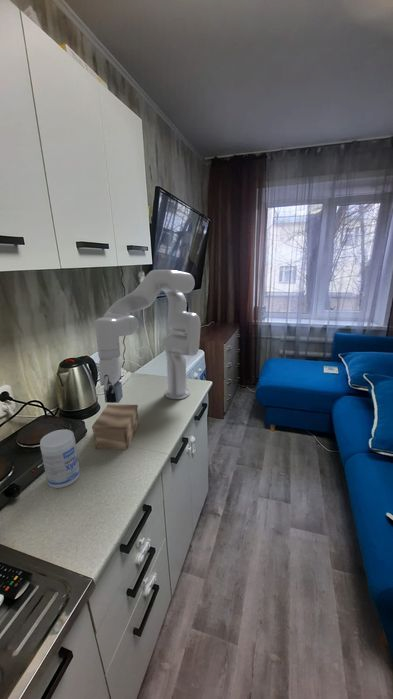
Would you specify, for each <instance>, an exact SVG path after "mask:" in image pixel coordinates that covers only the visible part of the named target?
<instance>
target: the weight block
mask: <svg viewBox="0 0 393 699" xmlns="http://www.w3.org/2000/svg"><path fill="white" fill-rule="evenodd" d="M109 384H111V383H109ZM122 386H123V384H122V381H120V382H116V383H115V384H114V392H115V397H116V402H115V404H116V403H118V404H119V403H120V402H121V400H122V398H123V387H122ZM108 387H109V388H111V386H108ZM103 394H104V403H107V398H106V393H105V390H104V389H103Z"/></svg>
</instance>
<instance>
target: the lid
mask: <svg viewBox="0 0 393 699" xmlns="http://www.w3.org/2000/svg"><path fill="white" fill-rule="evenodd" d="M138 407H139V406H138V404H121V403H120V404H119V403H118V404H116V403H115V404H114V403H108V404H107V405H106V406H105V408H104V409H103V410H102V412H101V413H100V414H99V416H98V417H97V419H96V420H95V422H93V424H92V426H91V429H92V430H93V429H121V430H126V429H127V427H128V425H129V423H130V421H131V419H132V417H133V415H134V414H135V412H136V410H137V411H138Z"/></svg>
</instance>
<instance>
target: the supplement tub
mask: <svg viewBox="0 0 393 699" xmlns="http://www.w3.org/2000/svg"><path fill="white" fill-rule="evenodd" d="M74 434H75V433H74V432H73V430H70V429H58V430H53V431H51V432H49V433H47V434H45V435H43V437H42V438H41V439H40V441H39V444H40V445H39V448H40V451H41V452H40V453H41V458H42V463H43V469H44V472H45V473H44V474H45V476H46V481H47V484H48V485H49V487H51V488H55V489H59V488H60V489H61V488H64V487H68V486H70V485H72V484H73V483H75V482H76V481H77V480H78V479H79V477H80V474H81V470H80V469H81V468H80V463H79V457H78V456H79V455H78V449H77V443H76V438H75V435H74Z"/></svg>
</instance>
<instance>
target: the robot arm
mask: <svg viewBox="0 0 393 699" xmlns="http://www.w3.org/2000/svg"><path fill="white" fill-rule="evenodd" d="M195 282H196V281H195V278H194V276H193V275H192V274H191V273H189V272H184V271H180V270H174V269H153V270H150V271H149V272H148V273H147V274H146V276H145V277H144V278H143V279H142V281H141V282H140V283H139V284H138V286H137V287H136V288H135V289H134V290H133V291H132V292H130V293H128V294H126V295H125V296H123V297H122V298H120V299H117V300H116V301H115V302H114V303H113V304H112V305H110V307H109V308H108V309H107V310H106V311H105V313H104V314H103V317H98V318H97V319H96V320H95V321H94V328H95V329H94V330H95V336H96V338H95V339H96V344H97V346H96V347H97V352H98V353H97V354H98V359H99V363H98V364H99V366H98V368H99V369H98V372H99V384H100V386H102V387H103V388H102V389H103V391H104V390H105V393H106V398H107V403H108V404H114V403H115V402H116V397H115V392H114V384H115V383H116V382H121V381H120V379H121V377H122V367H121V366H122V365H121V360H120V357H121V346H120V337H125V336H131V335H134V334H135V333H136V332H137V331H138V330H139V327H140V323H139V320H138V318H137V317H136V316H134V315H131V313H133V312H136V311H137V312H138V311H141V310H144V309H148V308H150V306H151V305H153V303H154V302H155V300H156V299H157V297H159V295H160V294H161V292H164V294H165V296H166V298H167V301H168V307H167V308H168V309H167V312H168V313H167V325H168V328H169V329H170V330H172V331H174V332H179V333H170V334H167V335H166V336H165V337H164V339H163V347H164V348H163V349H164V352H165V355H166V356H165V357H166V372H167V373H166V374H167V376H166V377H167V390H165V391H164V394H165V398H167V399H172V400H182V399H186V398H188V397H189V396H190V394H191V393H190V389H189V388H188V387H187V386H188V384H187V362H186V357H185V356H187V357H194V356H196V355H197V354H198V352H199V348H200V340H201V327H202V326H201V325H202V324H201V319H200V316H199V315H198V314H197V313H196V312H191V311H190V312H189V311H187V298H186V296H185V294H188V293H189V294H190V293H191V292H192V291H193V290H194V288H195V285H196V283H195ZM180 333H186V334H180ZM109 383H111V384H109ZM108 386H111V388H109V387H108ZM115 404H116V403H115Z"/></svg>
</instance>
